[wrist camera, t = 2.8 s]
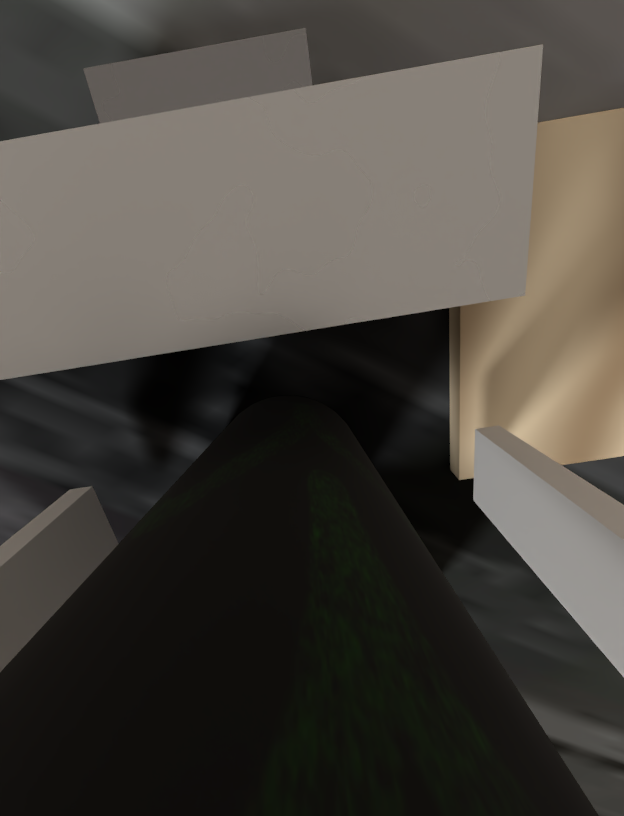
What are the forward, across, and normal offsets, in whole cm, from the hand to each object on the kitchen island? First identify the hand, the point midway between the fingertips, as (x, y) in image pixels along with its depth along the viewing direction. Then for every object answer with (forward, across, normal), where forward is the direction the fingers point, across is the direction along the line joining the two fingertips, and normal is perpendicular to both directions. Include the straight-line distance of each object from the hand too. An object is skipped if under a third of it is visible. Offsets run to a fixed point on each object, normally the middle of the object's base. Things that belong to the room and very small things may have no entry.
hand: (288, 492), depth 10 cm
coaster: (+2, +12, +4) cm, 13 cm away
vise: (+2, 0, -2) cm, 3 cm away
